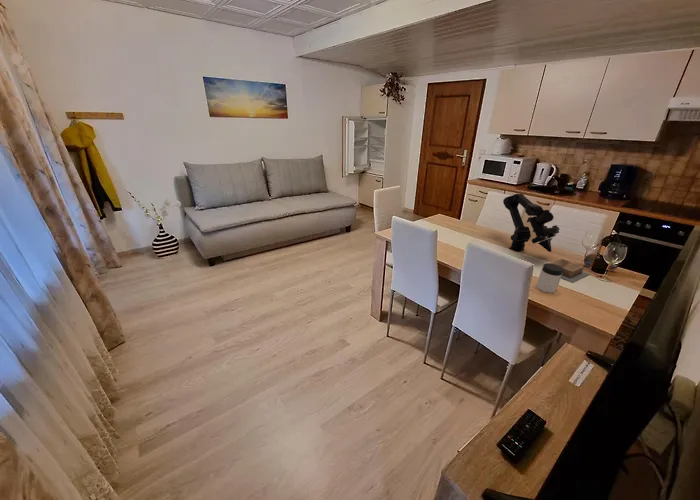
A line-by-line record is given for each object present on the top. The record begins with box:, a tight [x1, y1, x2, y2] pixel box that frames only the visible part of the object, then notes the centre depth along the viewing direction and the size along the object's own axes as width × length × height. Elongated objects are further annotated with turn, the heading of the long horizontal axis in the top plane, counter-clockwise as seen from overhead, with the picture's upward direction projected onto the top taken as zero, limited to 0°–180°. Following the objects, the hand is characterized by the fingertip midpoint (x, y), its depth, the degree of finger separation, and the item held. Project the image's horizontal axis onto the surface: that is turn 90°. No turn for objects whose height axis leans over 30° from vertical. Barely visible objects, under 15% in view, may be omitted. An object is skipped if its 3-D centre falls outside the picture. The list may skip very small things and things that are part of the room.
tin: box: [583, 253, 620, 272], centre depth 165 cm, size 15×3×8 cm, turn 62°
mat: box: [561, 270, 591, 284], centre depth 160 cm, size 13×18×1 cm
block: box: [551, 258, 585, 278], centre depth 161 cm, size 4×12×11 cm
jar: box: [535, 262, 563, 294], centre depth 143 cm, size 9×8×12 cm
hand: (550, 251), depth 167 cm, fingers closed
